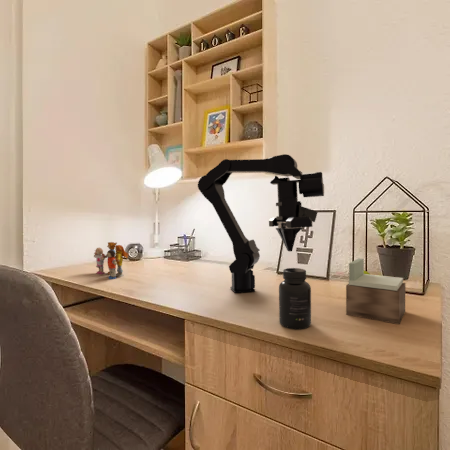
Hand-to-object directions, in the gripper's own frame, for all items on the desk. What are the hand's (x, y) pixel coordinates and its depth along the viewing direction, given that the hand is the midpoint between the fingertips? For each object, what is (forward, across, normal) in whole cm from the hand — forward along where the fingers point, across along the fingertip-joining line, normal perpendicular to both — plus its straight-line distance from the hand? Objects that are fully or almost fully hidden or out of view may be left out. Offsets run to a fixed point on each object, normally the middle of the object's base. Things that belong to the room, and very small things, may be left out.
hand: (289, 251), depth 89 cm
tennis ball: (+14, -2, -21) cm, 26 cm away
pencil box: (+14, -20, -13) cm, 28 cm away
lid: (+7, -20, -13) cm, 25 cm away
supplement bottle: (+13, -22, +9) cm, 28 cm away
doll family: (+11, +46, +58) cm, 75 cm away
